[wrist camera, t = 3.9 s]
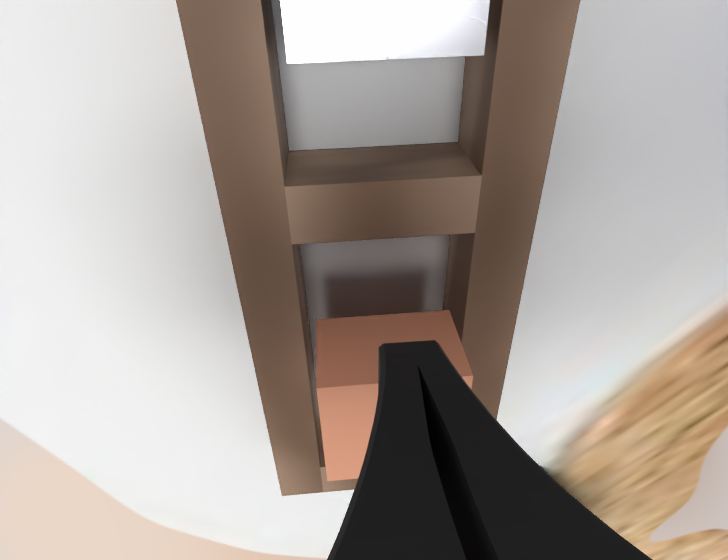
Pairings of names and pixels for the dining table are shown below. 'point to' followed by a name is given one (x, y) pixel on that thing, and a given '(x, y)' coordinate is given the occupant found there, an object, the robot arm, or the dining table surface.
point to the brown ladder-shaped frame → (374, 198)
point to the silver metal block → (382, 29)
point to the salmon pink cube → (367, 376)
